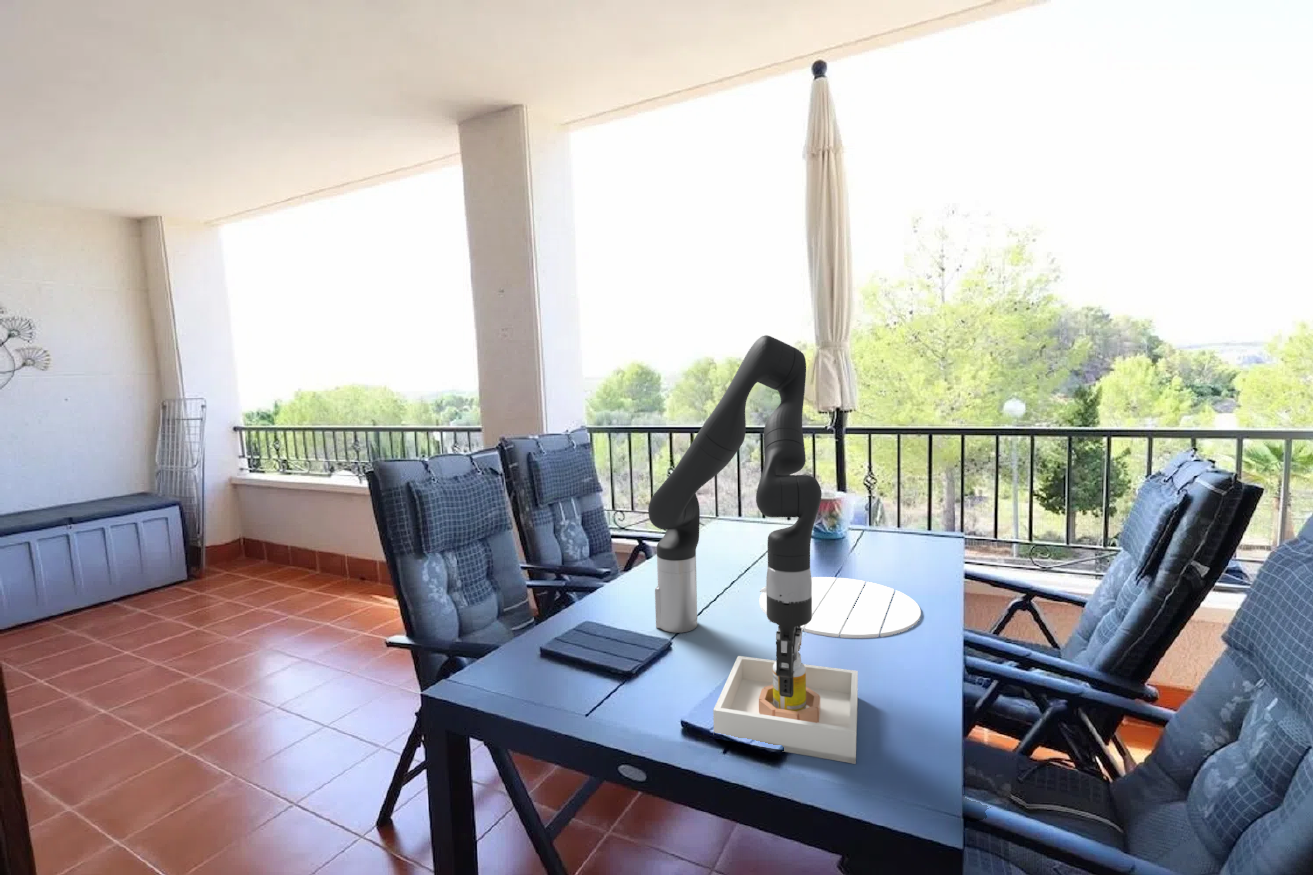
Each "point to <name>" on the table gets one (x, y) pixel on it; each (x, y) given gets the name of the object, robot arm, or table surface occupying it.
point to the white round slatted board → (856, 609)
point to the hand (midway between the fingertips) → (789, 683)
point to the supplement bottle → (799, 688)
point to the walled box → (804, 732)
